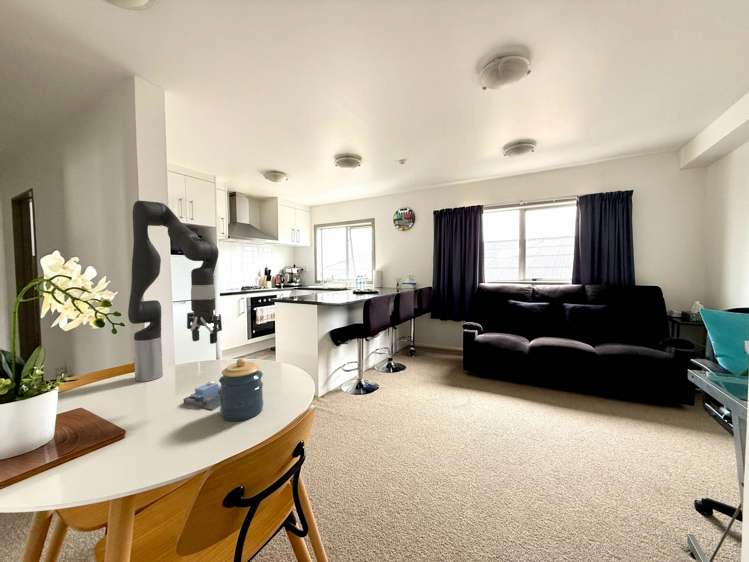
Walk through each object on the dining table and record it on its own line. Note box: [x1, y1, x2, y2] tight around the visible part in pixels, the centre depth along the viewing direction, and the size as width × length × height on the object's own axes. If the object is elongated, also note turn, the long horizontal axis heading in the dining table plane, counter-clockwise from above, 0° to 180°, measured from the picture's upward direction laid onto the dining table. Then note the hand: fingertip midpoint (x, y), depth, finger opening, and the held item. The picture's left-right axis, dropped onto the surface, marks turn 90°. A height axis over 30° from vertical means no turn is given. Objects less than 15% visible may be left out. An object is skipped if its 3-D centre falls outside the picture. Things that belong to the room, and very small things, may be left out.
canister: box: [218, 358, 264, 422], centre depth 98 cm, size 13×13×18 cm
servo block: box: [190, 380, 221, 401], centre depth 108 cm, size 4×10×6 cm, turn 159°
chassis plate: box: [183, 389, 221, 411], centre depth 107 cm, size 14×11×2 cm
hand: (204, 342), depth 108 cm, fingers open, 8 cm apart
